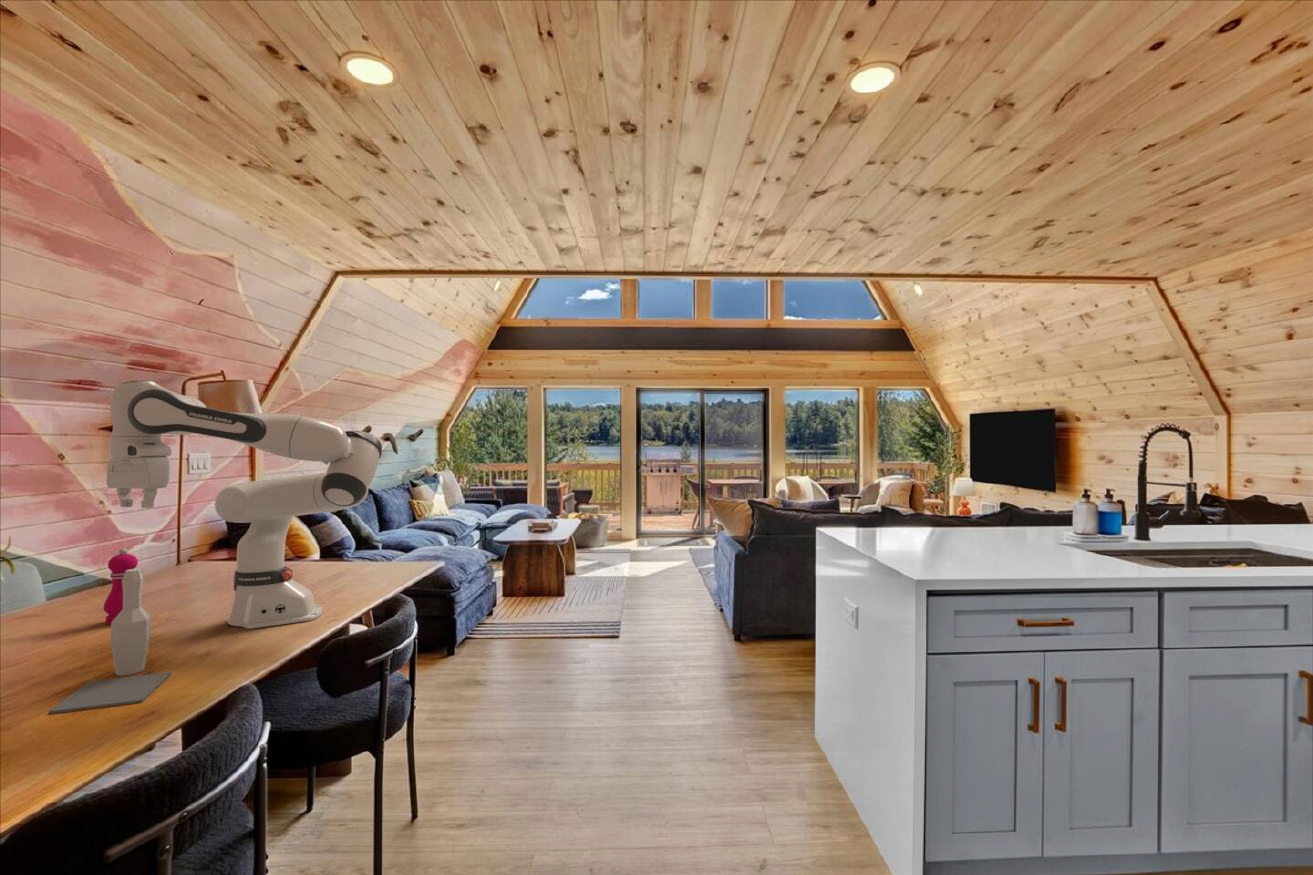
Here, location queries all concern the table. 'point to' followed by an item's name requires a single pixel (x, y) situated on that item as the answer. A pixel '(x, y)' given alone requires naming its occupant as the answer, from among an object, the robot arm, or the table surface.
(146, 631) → the low poly bottle
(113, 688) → the grey square plate
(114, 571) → the pepper mill
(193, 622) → the table surface
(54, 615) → the table surface
